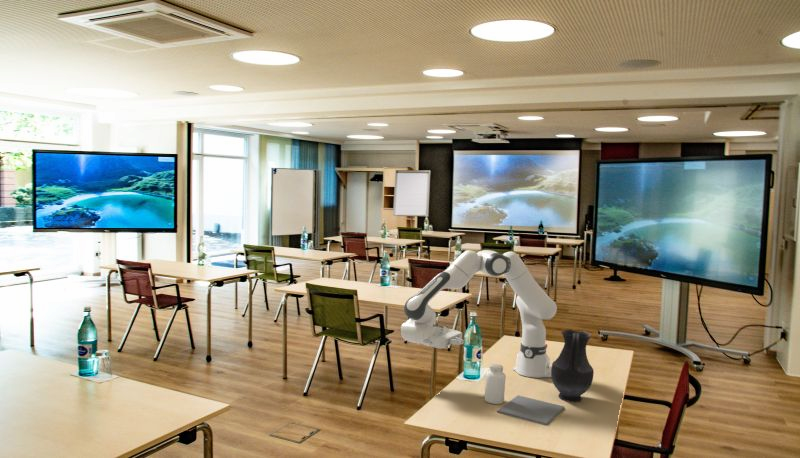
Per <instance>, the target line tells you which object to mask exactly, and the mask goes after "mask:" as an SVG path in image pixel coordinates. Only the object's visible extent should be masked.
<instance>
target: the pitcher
mask: <svg viewBox="0 0 800 458" xmlns="http://www.w3.org/2000/svg"><path fill="white" fill-rule="evenodd" d="M561 336H562V337H563V340H564V345H563V348H562V349H561V352H560V353H559V355H558V357H557V358H556V359H555V360H554V361H553V362H552V363H551V367H552V368H551V377H550V378H551V381H552V383H553V386H554V387H555V388H556V389H557V391H558V392H559V394H558V398H559V399H560V400H561V401H562V400H563V401H565V402H570V403H578V402H582V400H583V398H582V395H584V394H585V393H586V392H587V391H589V389H590V388H591V386H592V384H593V381H594V368H593V366H592V365H591V363H590V362H589V359H588V355H587V344H588V342H589V341H590V338H591V337H592V335H591V334H590V333H589V332H587V331H583V330H581V331H578V330H573V329H565V330H562V331H561Z"/></svg>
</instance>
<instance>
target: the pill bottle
mask: <svg viewBox="0 0 800 458" xmlns="http://www.w3.org/2000/svg"><path fill="white" fill-rule="evenodd" d="M503 371H504V366H503V365H502V364H497V363H493V364H490V366H489V370H488V371H487V372H486V375H485V377H486V378H485V387H484V389H485V390H484V401H485V402H487V403H489V404H493V405H501V404H503V403H504V401H505V390H506V389H505V388H506V374H505V372H503Z"/></svg>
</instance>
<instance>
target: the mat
mask: <svg viewBox="0 0 800 458" xmlns="http://www.w3.org/2000/svg"><path fill="white" fill-rule="evenodd" d="M564 409H565V406H564V405H560V404H556V403H553V402H547V401H544V400H539V399H534V398H531V397H527V396H523V395H516V396H515V397H513V398H512V399H510V400H509V401H508V402H507V403H505V404H504V405H503V406H501V407H500V408H499V409H497V411H496V412H497V413H498V414H502V415H505V416H510V417H513V418H518V419H521V420H525V421H529V422H533V423H537V424H541V425H545V426H548V424H550V422H552V420H554V419H555V418H556V417H557V416H558V415H559V414H560V413H561V412H562V411H564Z"/></svg>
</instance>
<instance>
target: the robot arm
mask: <svg viewBox="0 0 800 458" xmlns="http://www.w3.org/2000/svg"><path fill="white" fill-rule="evenodd" d="M478 272H482V273H484V274H485V275H490V276H493V277H499V276H502V275H503V276H504V277H505V279H506V280H507V283H508V284H509V286H510V288H511V289H512V290H513V292H514V293H515V295H517V296H516V298H515V305H516V307H517V308H518V311H519V315H520V321H521V326H522V327H521V328H522V330H521V333H522V334H521V343H520V346H519V347H520V349H519V350H520V351H519V352H518V353H517V355H516V360H515V362H516V363H515V366H513V367H512V370H513V371H514V372H516V373H517V374H518V375H520V376H522V377H528V378H538V379H539V378H552V377H551V368H552V365H550V363H551V358H550V357H549V355H548V354H547V348H548V344H547V343H546V337H547V335H546V333H547V329H546V326H545V324H544V322H543V320H551V319H552V318H554V317H555V316H556V314H557V311H558V307H557V304H556V302H555V301H554V300H553V299H552V298H551V297H549V296H548V294H547V293H546V292H545V290H544V289H543V288H542V287H541V285H539V284H538V282H537V281H536V280H535V278H534V277H533V275H532V274H531V272H530V270H529V269H528V267H527V266H526V264H525V263H524V261H523V260H522V258H521V257H520V256H519V255H518V254H517V252H514V251H512V250H511V251H507V252H504V253H499V252H498V251H495V250H492V249H491V250H490V249H488V248H487V249H485V248H483V249H479V250H477V251H474V250H471V249H467V250H464V251H463V252H462V253H461V254H460V255H458V257H456V259H455V260H453V262H452V263H451V264H450V265H449V266H448V267H447V268H446V269H444V270H443V271H442V272H440V273H438V274H436V275H435V276H434V277H433V278H432V279H431V280H430V281H429V282H428V283H427V284H425V285H424V286H423V288H421V290H419V291H418V292H416V294H414V295H413V296H411V297H409V298H408V299H407V300H406V302H405V304H404V307H403V311H404V314H405V315H406V317H408V318H409V319H407V320H406V321H405V322H403V323H402V324H401V325H400V333H401V337H402V338H403V339H404V341H407V342H410V343H414V344H418V345H421V344H422V345H424V346H427V347H432V348H436V349H444V348H446V347H448V346H451V345H458V346H460V345H463V344H464V343H465V342H464V341H465V340H464V339H463V332H461V331H459V330H456V329H452V328H447V326H443V325H442V326H436V325H435V323H436V319H437V313H436V311H435V309H433V308H432V307H431V306H430V305H429V302H430V301H431V300H432V299H434V297H436V295H437V294H438V293H440V292H441V291H442V290H445V289H450V290H460V289H462V288H464V287H465V286H466V285H467V284H468V283H469V281H470V280H471V279H472V278H474V275H475V274H476V273H478ZM434 325H435V326H434Z"/></svg>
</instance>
